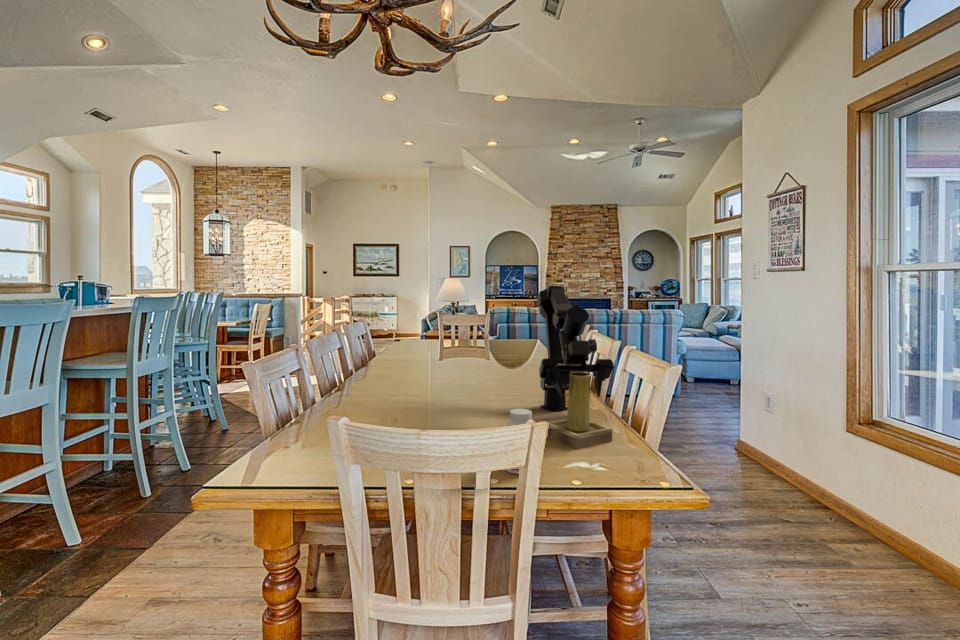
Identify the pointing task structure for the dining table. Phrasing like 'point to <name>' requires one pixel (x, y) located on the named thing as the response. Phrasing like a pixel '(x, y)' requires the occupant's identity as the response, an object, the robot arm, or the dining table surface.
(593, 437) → the wooden tray
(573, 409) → the vase
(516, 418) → the supplement bottle
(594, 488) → the dining table surface
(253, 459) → the dining table surface
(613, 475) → the dining table surface
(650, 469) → the dining table surface
